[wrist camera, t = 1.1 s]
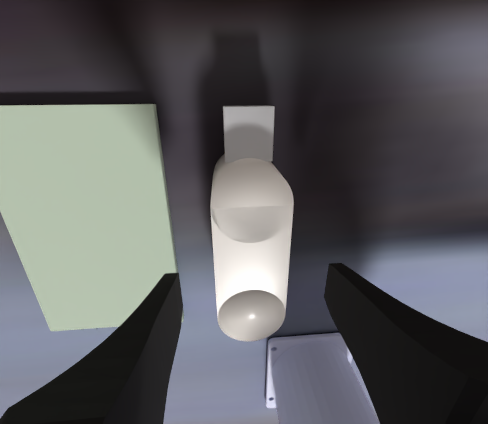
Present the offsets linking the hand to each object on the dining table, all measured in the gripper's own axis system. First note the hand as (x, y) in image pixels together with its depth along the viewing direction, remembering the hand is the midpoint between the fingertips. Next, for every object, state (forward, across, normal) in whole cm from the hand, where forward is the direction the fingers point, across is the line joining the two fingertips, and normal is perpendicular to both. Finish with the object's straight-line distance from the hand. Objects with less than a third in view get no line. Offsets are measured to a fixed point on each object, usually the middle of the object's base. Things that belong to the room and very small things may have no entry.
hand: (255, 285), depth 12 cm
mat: (+6, +10, 0) cm, 12 cm away
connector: (+7, 0, -1) cm, 7 cm away
